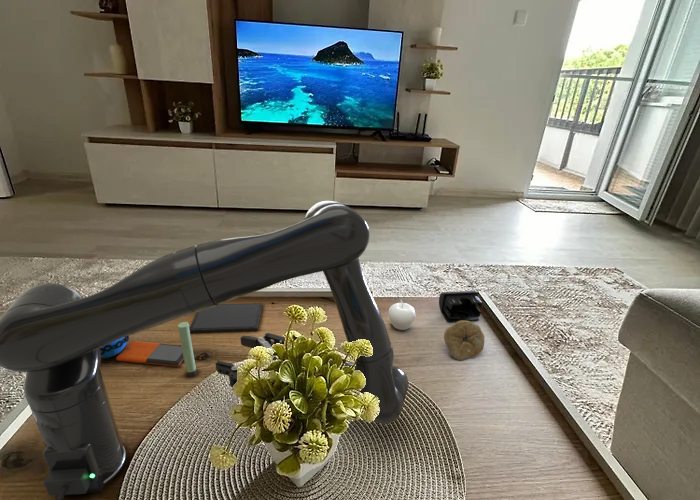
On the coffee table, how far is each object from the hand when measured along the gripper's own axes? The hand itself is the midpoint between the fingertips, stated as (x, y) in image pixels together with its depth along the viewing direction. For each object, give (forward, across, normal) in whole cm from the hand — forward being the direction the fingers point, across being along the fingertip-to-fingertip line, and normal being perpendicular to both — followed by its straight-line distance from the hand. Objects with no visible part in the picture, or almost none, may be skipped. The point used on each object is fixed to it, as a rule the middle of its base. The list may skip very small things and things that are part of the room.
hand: (229, 352), depth 80 cm
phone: (+23, -2, +9) cm, 24 cm away
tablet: (+16, -21, +9) cm, 27 cm away
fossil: (-45, -29, +9) cm, 55 cm away
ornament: (+32, +1, +9) cm, 34 cm away
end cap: (-43, -45, +9) cm, 63 cm away
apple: (-29, -34, +9) cm, 45 cm away
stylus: (+11, 0, +9) cm, 14 cm away
